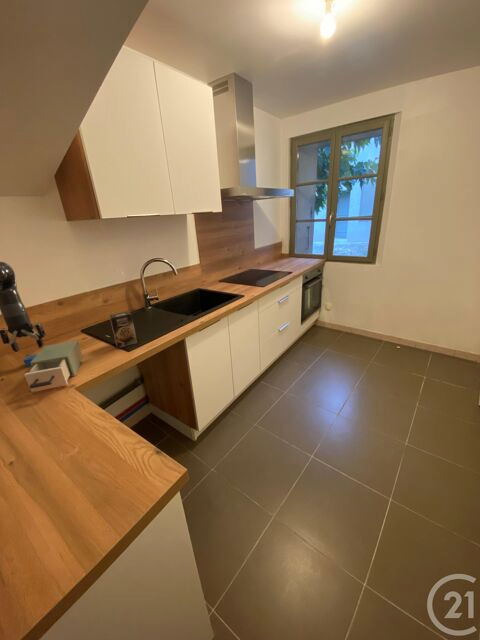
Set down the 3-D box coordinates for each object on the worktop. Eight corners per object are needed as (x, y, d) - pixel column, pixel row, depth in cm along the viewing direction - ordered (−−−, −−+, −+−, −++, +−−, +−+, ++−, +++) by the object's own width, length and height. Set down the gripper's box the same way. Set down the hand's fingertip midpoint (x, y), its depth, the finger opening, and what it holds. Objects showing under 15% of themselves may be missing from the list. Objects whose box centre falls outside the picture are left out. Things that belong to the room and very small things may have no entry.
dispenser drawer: (63, 392, 92) (56, 375, 89) (25, 400, 89) (17, 382, 86) (76, 367, 108) (71, 351, 105) (45, 372, 105) (39, 356, 102)
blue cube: (27, 369, 110) (23, 360, 109) (31, 364, 114) (27, 355, 113) (39, 367, 111) (35, 358, 110) (42, 362, 115) (39, 353, 114)
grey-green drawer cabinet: (75, 376, 103) (68, 356, 100) (38, 383, 100) (30, 362, 97) (83, 359, 116) (77, 340, 113) (51, 364, 113) (44, 346, 110)
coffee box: (118, 350, 122) (110, 318, 116) (116, 345, 127) (108, 314, 121) (138, 345, 126) (131, 313, 121) (135, 340, 132) (128, 310, 126)
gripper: (38, 307, 109) (51, 342, 115) (-2, 313, 106) (13, 348, 112) (31, 313, 103) (45, 349, 109) (-13, 319, 99) (5, 356, 105)
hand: (29, 349), depth 110 cm, fingers open, 8 cm apart
